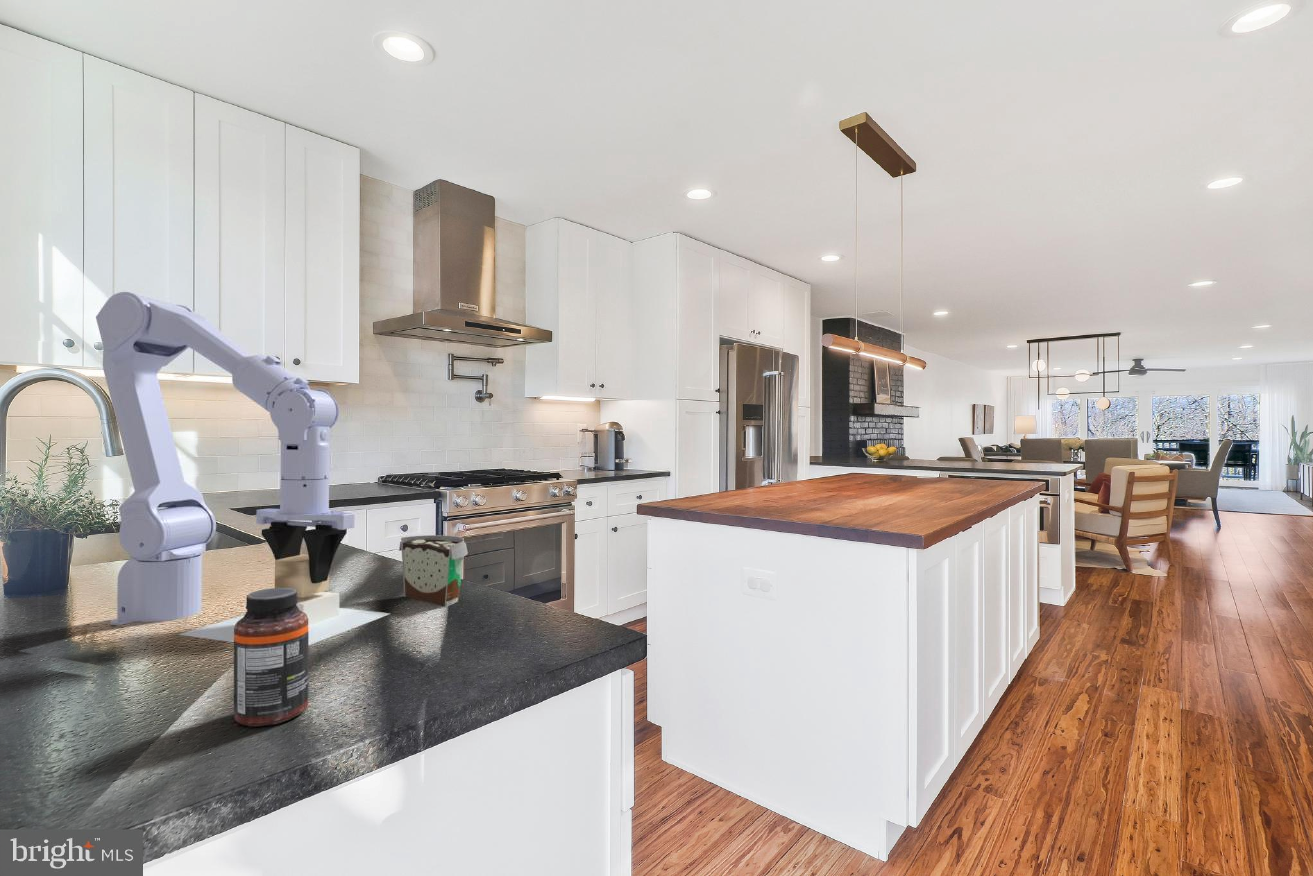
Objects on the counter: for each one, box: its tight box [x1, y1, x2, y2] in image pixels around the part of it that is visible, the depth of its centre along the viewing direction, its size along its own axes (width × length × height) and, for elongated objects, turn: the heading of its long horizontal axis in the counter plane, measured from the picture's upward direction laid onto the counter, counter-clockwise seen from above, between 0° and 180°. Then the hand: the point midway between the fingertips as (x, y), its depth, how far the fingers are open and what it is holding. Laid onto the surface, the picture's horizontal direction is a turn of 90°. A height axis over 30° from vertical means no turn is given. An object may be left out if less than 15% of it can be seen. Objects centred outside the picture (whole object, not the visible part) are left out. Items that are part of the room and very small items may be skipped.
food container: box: [398, 534, 469, 607], centre depth 98 cm, size 12×6×10 cm, turn 58°
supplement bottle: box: [233, 587, 310, 728], centre depth 59 cm, size 6×6×11 cm
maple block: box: [274, 554, 330, 597], centre depth 85 cm, size 4×4×4 cm
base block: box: [296, 591, 340, 626], centre depth 85 cm, size 6×6×3 cm
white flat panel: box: [178, 607, 392, 646], centre depth 83 cm, size 18×16×1 cm
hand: (304, 580), depth 85 cm, fingers closed on maple block, 4 cm apart
